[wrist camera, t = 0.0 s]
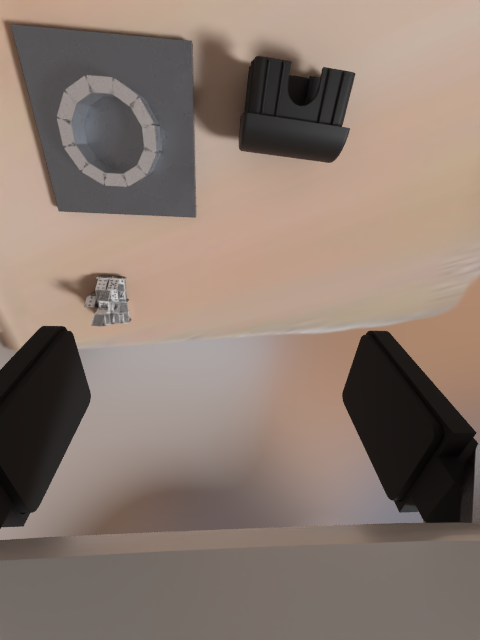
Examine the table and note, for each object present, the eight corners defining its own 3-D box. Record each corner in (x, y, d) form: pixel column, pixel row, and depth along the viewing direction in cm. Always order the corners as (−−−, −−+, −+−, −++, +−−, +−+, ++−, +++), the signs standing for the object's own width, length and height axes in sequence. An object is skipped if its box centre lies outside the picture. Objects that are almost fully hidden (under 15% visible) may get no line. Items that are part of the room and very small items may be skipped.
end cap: (237, 149, 33) (240, 151, 28) (244, 68, 30) (250, 52, 24) (321, 160, 35) (341, 165, 29) (338, 84, 31) (365, 72, 25)
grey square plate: (18, 28, 27) (-12, 11, 24) (192, 44, 28) (188, 31, 25) (63, 209, 36) (45, 217, 32) (196, 215, 37) (193, 223, 33)
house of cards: (59, 258, 39) (27, 283, 33) (126, 264, 40) (109, 288, 34) (72, 316, 44) (46, 347, 37) (132, 319, 45) (117, 350, 38)
